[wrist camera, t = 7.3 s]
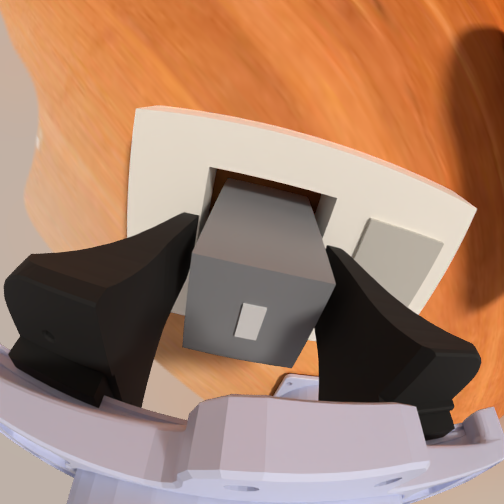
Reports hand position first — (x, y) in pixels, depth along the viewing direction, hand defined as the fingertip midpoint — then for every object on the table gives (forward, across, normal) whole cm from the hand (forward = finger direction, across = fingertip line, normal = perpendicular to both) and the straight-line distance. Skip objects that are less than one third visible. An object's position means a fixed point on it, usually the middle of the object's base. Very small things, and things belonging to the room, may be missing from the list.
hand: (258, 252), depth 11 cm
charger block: (+4, 0, 0) cm, 4 cm away
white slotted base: (+4, -2, 0) cm, 4 cm away
